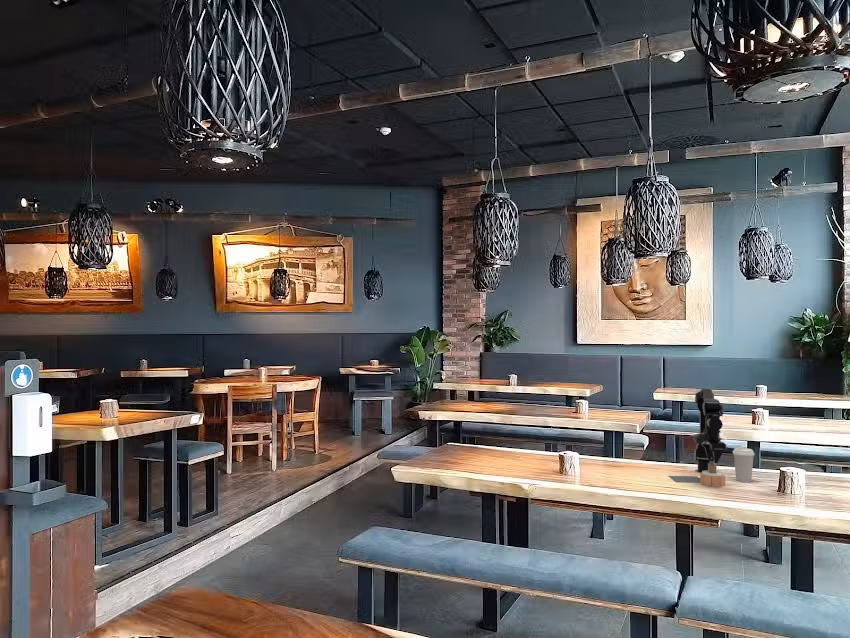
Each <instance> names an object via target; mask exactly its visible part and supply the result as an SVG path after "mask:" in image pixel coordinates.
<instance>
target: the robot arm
mask: <svg viewBox="0 0 850 638" xmlns="http://www.w3.org/2000/svg"><path fill="white" fill-rule="evenodd" d="M694 404H695V407H696V408H697V409H698V411H699V433H696V434H694V435H692V436H691V437H692V439H693V442H694V443H695V445H696V447H695V449H694V451H693V452H694V454H693V457H694V461H697V469H695V471H696V472H698V473H699V474H700V473H702V471H705V470H708V463H711V462H713V463H715V464H718V463H719V461H720V459H721V457H722V455H723V453H724V451H725V450H727V444H726V443H725V442H723V441H721V439H720V434H721V429H722V428H723V421H722V420H721V419H720V417H723V416H724V409H723V408H724V407H723V405H722V403H721V402H720V400H719V399H717V398H715V394H714V393H713V389H711V388H702V389H700V390H699V391H697V392H696V393H695V396H694Z"/></svg>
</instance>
